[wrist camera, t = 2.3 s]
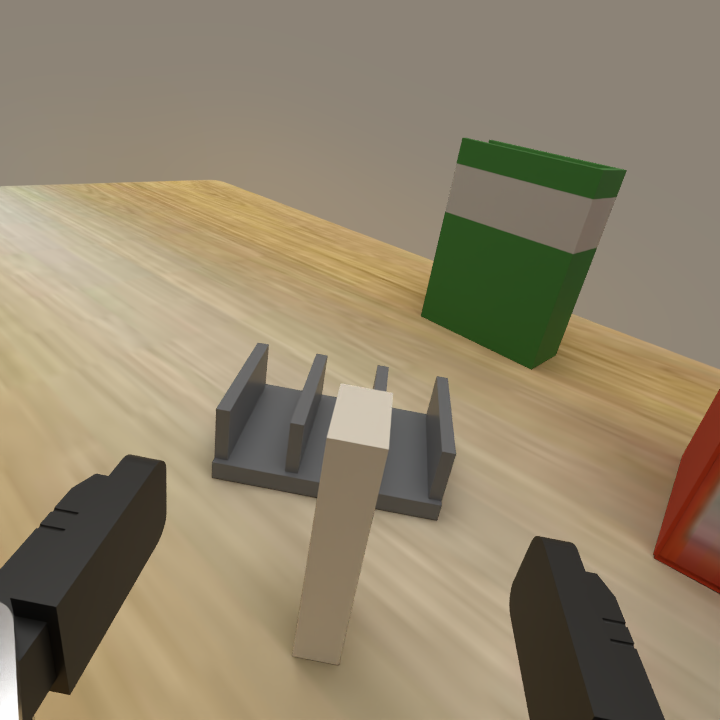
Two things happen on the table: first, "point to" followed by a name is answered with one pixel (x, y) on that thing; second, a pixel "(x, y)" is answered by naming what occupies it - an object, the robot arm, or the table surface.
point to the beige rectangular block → (342, 519)
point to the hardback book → (517, 246)
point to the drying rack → (309, 433)
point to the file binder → (696, 507)
